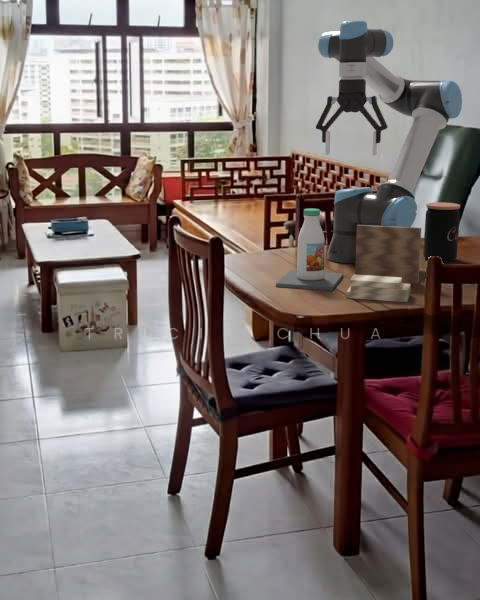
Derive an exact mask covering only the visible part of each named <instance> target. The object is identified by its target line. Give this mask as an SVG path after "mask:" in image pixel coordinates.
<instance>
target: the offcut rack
mask: <svg viewBox="0 0 480 600" xmlns="http://www.w3.org/2000/svg"><path fill="white" fill-rule="evenodd" d="M421 239H422V227H414V226H411V227H394V226H374V225H357V239H356V263H355V266H354V271H355V272H354V274H352V276H351V277H350V279H349V288H348V289H346V290H347V291H346V293H345V297H346V299H358V300H359V299H360V300H370V301H371V300H374V301H385V302H399V303H400V302H401V303H408V300H409V298H410V296H411V285H412V284H413V285H419V282H420V276H419V274H420V260H421V258H420V257H421V242H422V241H421Z"/></svg>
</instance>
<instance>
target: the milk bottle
mask: <svg viewBox="0 0 480 600" xmlns="http://www.w3.org/2000/svg"><path fill="white" fill-rule="evenodd" d="M303 217H304V220H303V223H302V227H301V228H300V231H299V234H298V239H297V255H296V256H297V257H296V258H297V260H296V261H297V263H296V264H297V266H296V267H297V268H296V271H297V277H298V278H299V279H301V280H309V281H314V280H321V279H323V277H324V272H325V254H326V253H325V252H326V251H325V249H326V248H325V245H326V243H325V241H326V240H325V234H324V230H323V228H322V226H321V223H320V217H321V210H320V209H319V208H309V207H308V208H304V209H303Z"/></svg>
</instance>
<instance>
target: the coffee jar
mask: <svg viewBox="0 0 480 600" xmlns="http://www.w3.org/2000/svg"><path fill="white" fill-rule="evenodd" d="M425 206H426V208H427V210H426V211H425V219H424V220H425V221H424V222H425V223H424V238H423V254H422V255H423V257H424V259H425V260H426V261H428V260H427V259H428V257H430V256H439V257H441V258H442V261H443V262H442V263H453V262H454V261H455V260H456V259H457V258H458V247H459V233H460V232H459V231H460V230H459V229H460V220H461V219H460V218H461V217H460V216H461V213H460V210H459V209H461V204H458V203H454V202H443V201H442V202H441V201H440V202H428V203H426V205H425Z"/></svg>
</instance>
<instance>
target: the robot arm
mask: <svg viewBox="0 0 480 600" xmlns="http://www.w3.org/2000/svg"><path fill="white" fill-rule="evenodd" d="M339 29H340V30H337V31H336V30H333V31H328V32H327V31H326V32H323V33H322V34H321V35H320V37H319V39H318V42H317V43H318V44H317V46H318V47H317V48H318V52H319V54H320V55H321V56H322V57H323V58H328V59H335V60H336V61H338V62H339V64H338V65H339V67H338V69H339V70H338V78H340V79H339V81H338V96H333V95H330V96H327V101H326V105H325V107H324V109H323V110H322V113H321V115H320V116H319V117H320V118H319V119H318V122H317V124H316V125H315V129H317V130H319V131H320V132H321V141H322V143H324V144H325V155H326V156H327V155H330V154H331V141H330V140H331V131H330V130H329V129H330V127H331V126H332V125H333V124H334V123H335V122H336V120H337V119H338V118H339V117H340V115H342V113H344V112H345V113H351V112H352V113H359V112H360V114H362V115H363V116H364V117H365V120H367V121H368V123H369V124H370V125H371V127H372V128H373V129H374V130H375V131H373V132H372V156H376V155H377V153H378V152H377V147H378V146H377V145H378V144H380V143H381V140H382V138H381V137H382V131H384V130H387V129H388V124H387V122H386V119H385V118H384V116H383V114H382V111H381V109H380V107H379V105H378V98H379V100H380V101H382V103H384V104H385V105H386V106H388V107H390V108H391V109H393V110H394V111H396V112H398V113H400V114H402V115H405V116H407V117H412V119H413V122H412V123H411V126H410V128H409V131H408V133H407V135H406V138H405V140H404V141H403V144H402V146H401V149H400V151H399V154H398V156H397V158H396V161H395V163H394V165H393V168H392V169H391V172H390V174H389V176H388V179H387V181H385V182H382V183H381V184H380V185H379V188H378V190H377V191H376V192H373V191H372V188H371V187H369V186H368V187H367V186H365V187H353V188H343V189H338V190H337V191H336V192H335V193H334V202H333V234H332V237H331V241H330V243H329V247H328V250H327V253H326V254H327V256H326V257H327V260H329V261H332V262H337V263H342V264H356V239H357V225H374V226H394V227H413V224H414V222H415V220H416V217H417V215H418V214H417V210H418V205H417V203H416V196H415V194H414V189H415V187H416V185H417V183H418V181H419V179H420V176H421V172H422V171H423V168H424V166H425V164H426V161H427V160H428V157H429V154H430V152H431V149H432V148H433V146H434V143H435V141H436V138H437V136H438V135H439V131H441V130H443V129H445V128H446V126H447V124H448V122H449V120H450V119H452V120H453V119H455V118H456V119H457V118H458V117H459V116H460V114H461V111H462V108H463V97H462V95H463V94H462V91H461V89H460V86H459V84H458V83H456V82H455V81H453V80H445V79H442V80H412V79H405V78H403V77H402V76H401V75H398V74H393V73H392V72H391V71H390V70H389V69H387V67H385V66H384V64H382V63H381V62H380V61H379V60H377V59H376V58H381V57H385V56H388V55H389V54H390V53H391V52H392V50H393V47H394V38H393V35H392V34H391V32H390V31H388V30H385V29H382V28H379V29H378V28H377V29H373V28H372V29H370V28H369V29H368V23H367V22H366V21H365V20H347V21H342V22H341V23H340V26H339ZM366 86H369V87H370V89H372V90H373V91H375V92H376V93H377V95H378V98H377V96H376V95H372V96H369V97H368V96H367V93H366V91H367V90H366V88H367V87H366ZM336 102H337V104H338V105H339V107H338V108H337V109H336V111H335V112H334V114H333V115H332V116H331V117H330V118H329V119H328V121H327V122H326V123H325V121H326V119H327V116H328V115H329V113H330V111H331V110H332V106H333V105H335V103H336ZM367 102H368V104H369V105H371V107H372V109H373V111H374V113H375V115H376V117H377V119H378V122H379V124H380V125H379V124H378V122H377V121H376V120H375V119H374V117H373V116H372V115H371V114H370V112H369V111H368V110H367V108H366V107H365V105H366V104H367ZM324 123H325V124H324ZM323 124H324V126H323Z"/></svg>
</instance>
